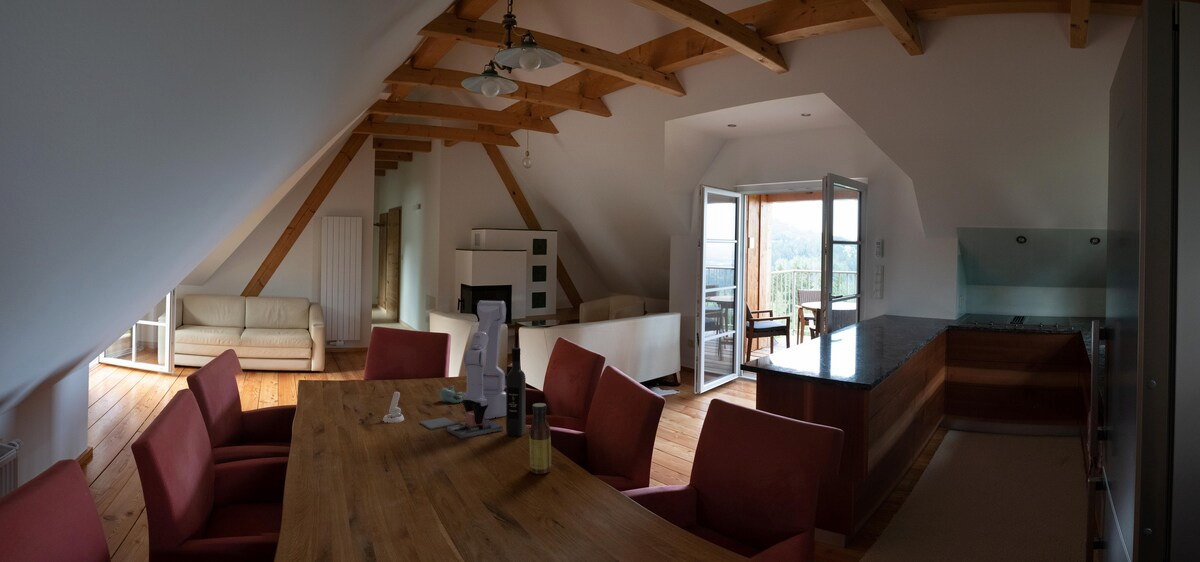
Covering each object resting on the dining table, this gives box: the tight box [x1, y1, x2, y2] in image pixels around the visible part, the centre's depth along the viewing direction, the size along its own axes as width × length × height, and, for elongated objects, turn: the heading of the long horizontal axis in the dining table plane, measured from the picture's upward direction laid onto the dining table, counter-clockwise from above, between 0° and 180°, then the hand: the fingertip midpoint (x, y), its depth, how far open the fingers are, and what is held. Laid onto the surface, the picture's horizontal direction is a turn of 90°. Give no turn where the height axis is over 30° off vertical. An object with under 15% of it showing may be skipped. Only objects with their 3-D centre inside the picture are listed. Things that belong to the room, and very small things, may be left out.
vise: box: [446, 419, 504, 440], centre depth 226 cm, size 17×11×6 cm, turn 128°
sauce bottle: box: [528, 402, 552, 475], centre depth 187 cm, size 7×6×20 cm
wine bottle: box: [505, 347, 526, 438], centre depth 222 cm, size 6×6×30 cm
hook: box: [382, 391, 405, 424], centre depth 241 cm, size 8×12×7 cm
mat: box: [419, 416, 458, 431], centre depth 234 cm, size 10×10×1 cm
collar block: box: [464, 411, 486, 427], centre depth 226 cm, size 5×5×4 cm
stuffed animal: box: [438, 385, 464, 404], centre depth 267 cm, size 11×7×12 cm
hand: (474, 421), depth 226 cm, fingers open, 5 cm apart
